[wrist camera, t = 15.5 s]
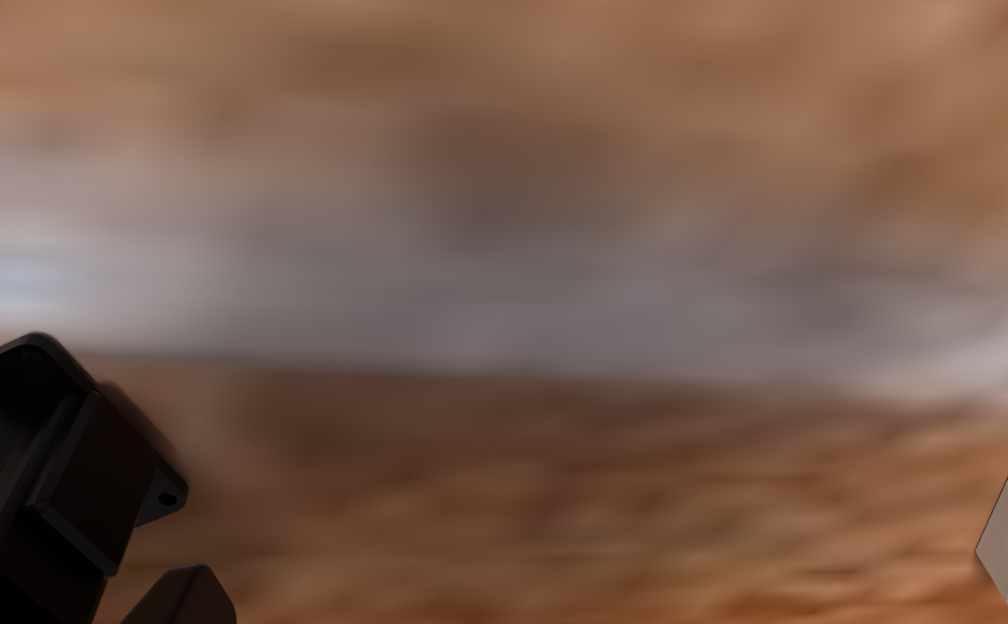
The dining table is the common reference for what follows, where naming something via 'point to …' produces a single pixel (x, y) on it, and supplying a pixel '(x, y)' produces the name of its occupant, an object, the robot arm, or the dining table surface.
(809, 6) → the dining table surface
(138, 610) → the robot arm
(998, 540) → the socket block
